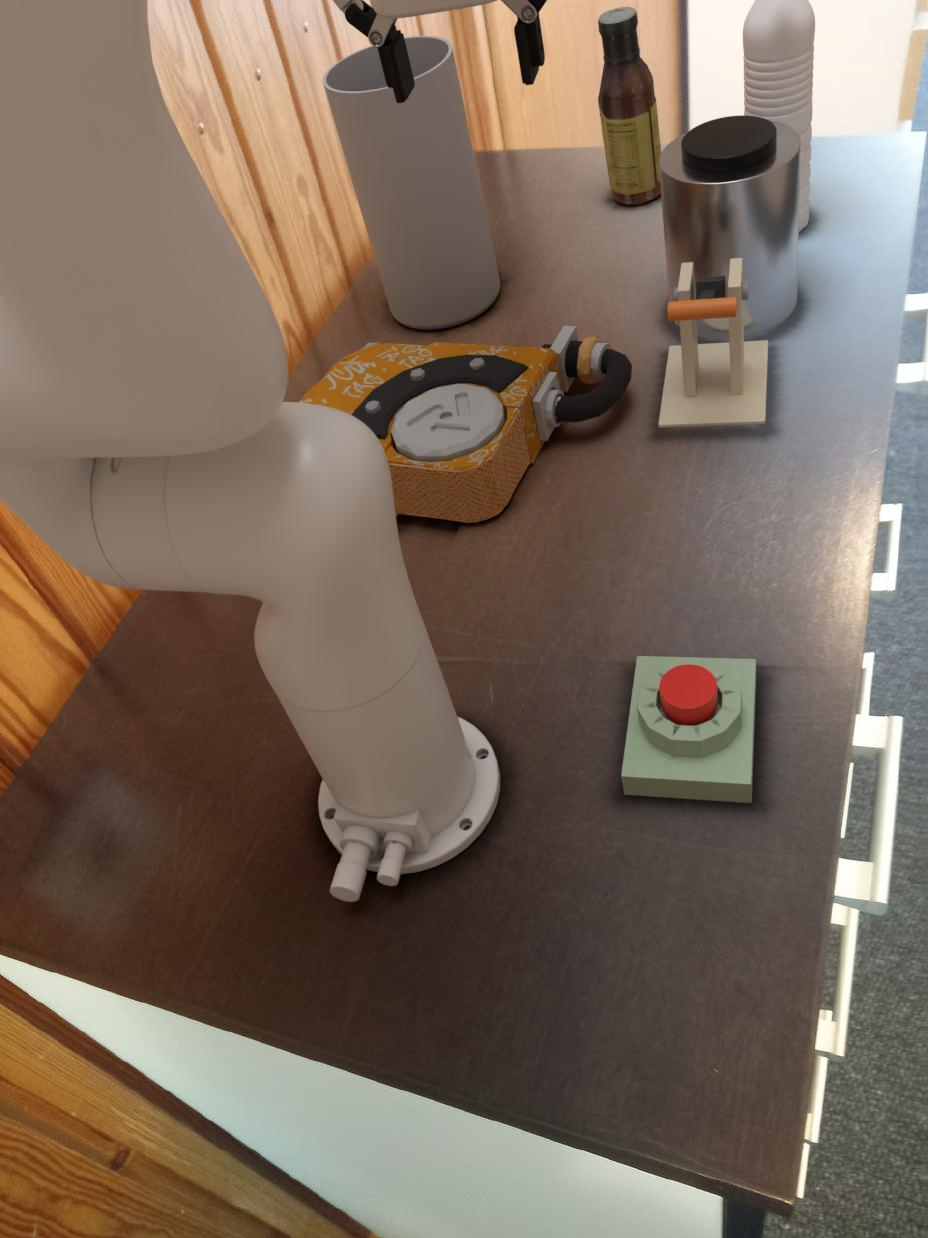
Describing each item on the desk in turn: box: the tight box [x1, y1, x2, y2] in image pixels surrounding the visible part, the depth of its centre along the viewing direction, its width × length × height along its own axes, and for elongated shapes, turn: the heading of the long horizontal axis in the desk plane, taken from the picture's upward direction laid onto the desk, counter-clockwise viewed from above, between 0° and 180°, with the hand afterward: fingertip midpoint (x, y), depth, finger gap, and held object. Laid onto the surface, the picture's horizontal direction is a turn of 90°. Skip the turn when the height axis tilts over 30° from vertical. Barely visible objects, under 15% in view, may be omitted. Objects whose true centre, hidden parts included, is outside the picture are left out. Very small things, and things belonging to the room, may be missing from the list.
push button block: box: [620, 655, 757, 804], centre depth 68 cm, size 10×8×4 cm
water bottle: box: [742, 0, 816, 233], centre depth 101 cm, size 9×6×25 cm
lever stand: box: [657, 258, 769, 429], centre depth 89 cm, size 12×9×12 cm
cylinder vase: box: [322, 35, 501, 331], centre depth 105 cm, size 12×12×25 cm
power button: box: [659, 664, 718, 725], centre depth 66 cm, size 4×4×2 cm
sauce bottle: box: [597, 6, 662, 206], centre depth 114 cm, size 7×6×20 cm
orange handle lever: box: [666, 276, 737, 322], centre depth 82 cm, size 12×5×2 cm, turn 168°
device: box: [299, 325, 633, 524], centre depth 93 cm, size 23×8×30 cm
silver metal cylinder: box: [659, 114, 801, 340], centre depth 96 cm, size 14×12×17 cm
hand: (467, 86), depth 76 cm, fingers open, 9 cm apart
